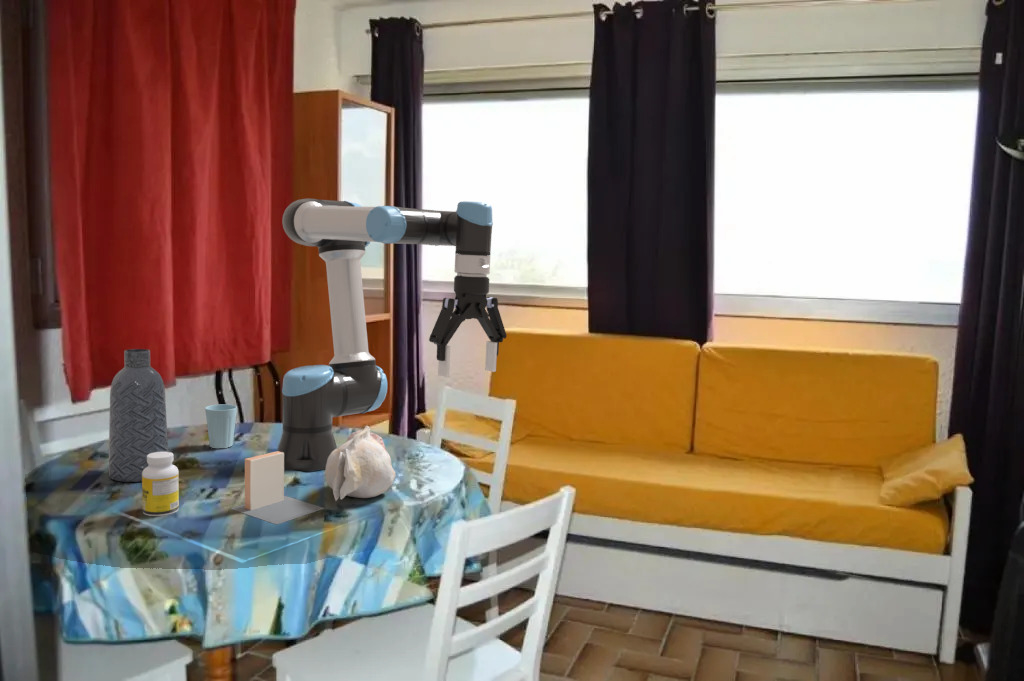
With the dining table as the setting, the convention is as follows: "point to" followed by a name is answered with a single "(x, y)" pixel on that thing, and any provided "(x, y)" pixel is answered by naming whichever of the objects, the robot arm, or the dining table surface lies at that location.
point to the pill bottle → (160, 485)
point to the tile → (264, 480)
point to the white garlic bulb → (360, 467)
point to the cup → (221, 424)
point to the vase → (136, 417)
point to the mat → (280, 510)
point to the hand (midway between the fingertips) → (467, 373)
